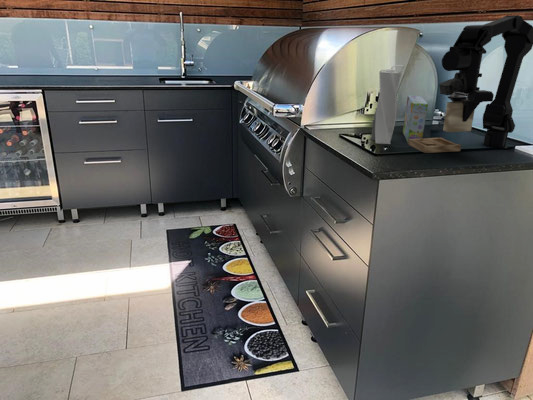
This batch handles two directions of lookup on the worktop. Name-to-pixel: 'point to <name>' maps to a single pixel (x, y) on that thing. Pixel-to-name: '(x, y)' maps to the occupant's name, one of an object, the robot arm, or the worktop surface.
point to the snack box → (415, 117)
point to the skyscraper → (386, 106)
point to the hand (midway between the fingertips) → (461, 120)
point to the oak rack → (439, 145)
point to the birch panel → (456, 118)
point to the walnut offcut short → (426, 143)
